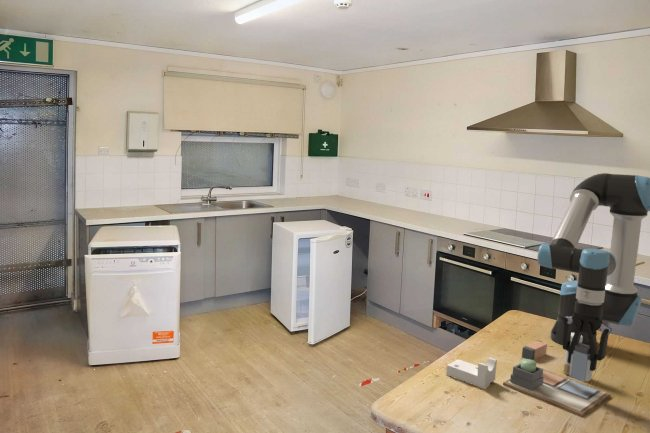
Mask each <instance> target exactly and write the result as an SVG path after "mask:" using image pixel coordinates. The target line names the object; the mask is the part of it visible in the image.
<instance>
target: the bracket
mask: <svg viewBox="0 0 650 433" xmlns="http://www.w3.org/2000/svg"><path fill="white" fill-rule="evenodd" d="M486 360H487V361H486V364H485V363H482V362H479V363H478V365H477V364H473V363H471V362H467V361H464V360H462V359H455V360H454V361H451V362H450V363H448V364H447V365H446V370H445V371H446V373H445V374H447V375H446V376H448V375H449V376H448V377H450V376H452V378H453V377H455V378H454V379H456V378H457V380H459V379H460V381H461V380H462V381H461V382H464V381H465V382H464V383H467V384H469V383H470V385H472V384H473V386H475V387H479V388H480V389H483V390H486V388H488V387H490V385H491V383H493V382H494V381H495V380H496V372H497V362H498V359H497V358H496V359H495V358H493V357H490V356H489V357H487V359H486Z"/></svg>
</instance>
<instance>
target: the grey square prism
mask: <svg viewBox="0 0 650 433" xmlns="http://www.w3.org/2000/svg"><path fill="white" fill-rule="evenodd" d="M588 359H590V347H589V346H588V345H585V344H582V343H579V344H577V345H575V350H574V352H573V360H572V368H571V376H569V377H570V378H571V379H574V380H575V381H576V380H577V381H578V382H579V381H580V382H581V383H582V382H583V383H585V382H586V381H585V377H586V369H587V361H588Z"/></svg>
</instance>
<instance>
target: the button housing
mask: <svg viewBox="0 0 650 433" xmlns="http://www.w3.org/2000/svg"><path fill="white" fill-rule="evenodd" d="M520 368H521V362H520V363H519V364H516V365H514V366H513V367H512V374H510V378H509V379H510V382H511V383H513V384H516V385H518V386H521V387H523V388H526V389H528V390H531V391H532V390H534V389H536V388H538V387H539V386H541V385H543V379H544V377H543V370H544V368H541V367H539V366H536V372H534V373H530V372H527V371H524V370H522V369H520Z"/></svg>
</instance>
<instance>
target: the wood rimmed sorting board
mask: <svg viewBox="0 0 650 433" xmlns="http://www.w3.org/2000/svg"><path fill="white" fill-rule="evenodd" d="M543 377H544V379H543V385H541V386H539V387H538V388H536V389H534V390H532V391H531V390H528V389H526V388H523V387H521V386H518V385H516V384H513V383H511V382H510V379H511V378H509V379H508V380H505V381H503V382H502V385H503V386H505V387H507V388H510V389H512V390H515V391H517V392H519V393H522V394H525V395H527V396H529V397H531V398H534V399H536V400H540V401H542V402H545V403H547V404H549V405H551V406H554V407H556V408H559V409H561V410H563V411H566V412H569V413H571V414H574V415H576V416H579V417H581V418H583V417H584V416H585V415H587V414H588V413H590V412H591V411H592V410H594V409H595V408H596V407H598V406H599V405H601V404H602V403H604V402H605V401H606V400H608V399H609V398H610V397H611V394H612V393H609V392H607V391H604V390H601V389H598V388H596V387H593V386H591V385H587V384H584V383H582V382H579V381H578V380H577V381H576V380H575V379H574V380H573V379H572V378H571V379H570V378H568V377H565V376H563V375H560V374H557V373H554V372H552V371H549V370H546V369H543Z"/></svg>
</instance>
